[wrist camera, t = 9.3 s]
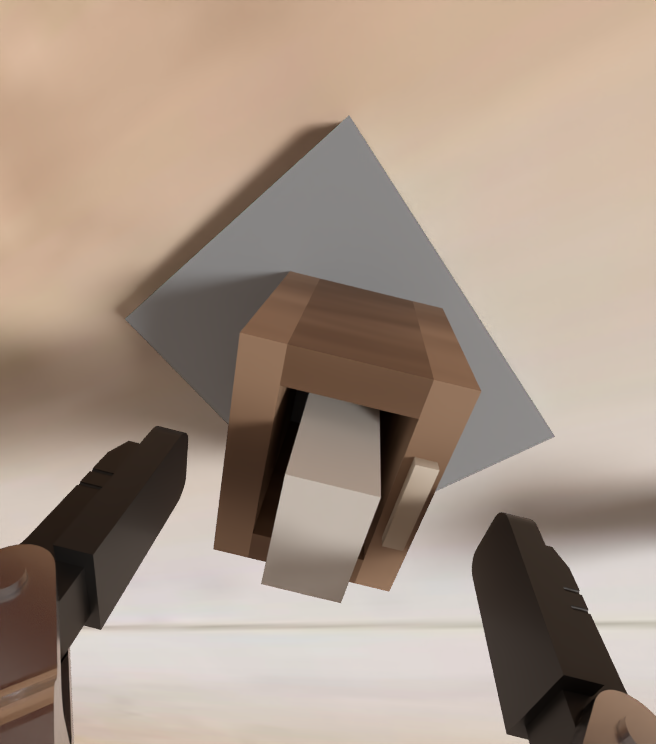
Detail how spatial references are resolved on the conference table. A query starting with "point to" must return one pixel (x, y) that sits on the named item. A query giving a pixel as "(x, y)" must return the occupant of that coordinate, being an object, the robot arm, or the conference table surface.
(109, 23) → the conference table surface
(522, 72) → the conference table surface
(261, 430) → the open cubby box
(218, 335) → the base
